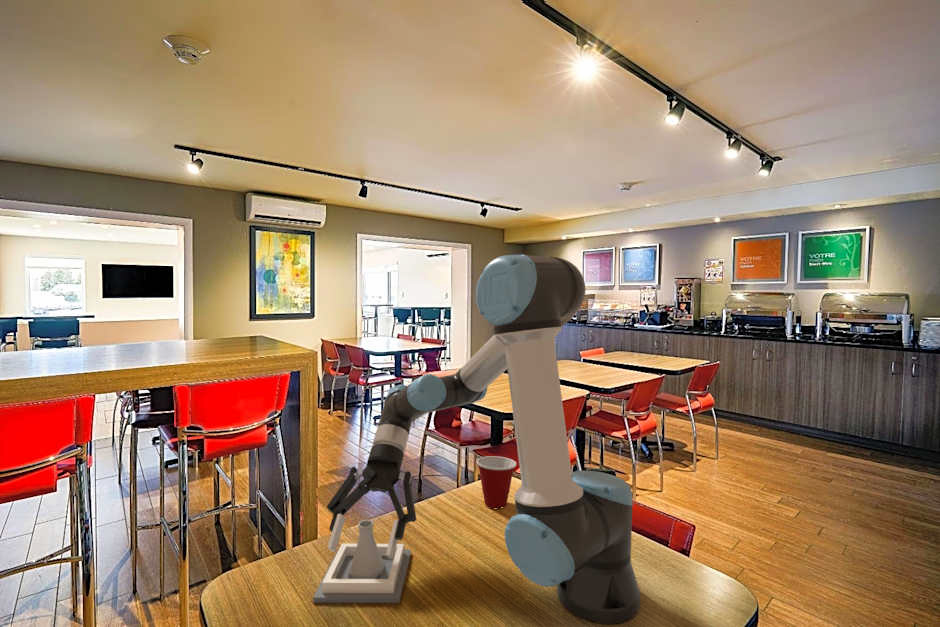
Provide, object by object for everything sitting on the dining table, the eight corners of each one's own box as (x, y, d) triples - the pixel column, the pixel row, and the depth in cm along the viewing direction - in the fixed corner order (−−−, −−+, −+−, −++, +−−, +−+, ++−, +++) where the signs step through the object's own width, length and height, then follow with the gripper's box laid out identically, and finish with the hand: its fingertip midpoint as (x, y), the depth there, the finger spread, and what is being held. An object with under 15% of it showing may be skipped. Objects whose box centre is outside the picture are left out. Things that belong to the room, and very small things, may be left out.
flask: (376, 584, 91) (375, 534, 90) (341, 579, 92) (340, 530, 92) (389, 563, 98) (389, 516, 97) (357, 558, 99) (357, 512, 99)
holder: (410, 553, 103) (410, 540, 103) (399, 603, 87) (399, 587, 87) (337, 553, 103) (337, 540, 103) (313, 602, 87) (312, 587, 87)
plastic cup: (523, 501, 128) (523, 458, 127) (504, 517, 119) (504, 471, 118) (488, 491, 134) (489, 450, 133) (468, 507, 125) (468, 462, 124)
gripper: (442, 460, 106) (422, 565, 92) (344, 453, 111) (311, 551, 97) (436, 445, 101) (414, 554, 87) (333, 438, 106) (297, 540, 91)
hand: (360, 553), depth 92 cm, fingers open, 11 cm apart
